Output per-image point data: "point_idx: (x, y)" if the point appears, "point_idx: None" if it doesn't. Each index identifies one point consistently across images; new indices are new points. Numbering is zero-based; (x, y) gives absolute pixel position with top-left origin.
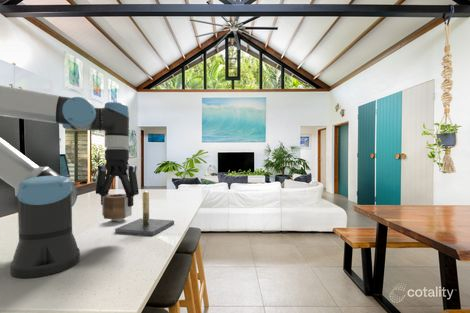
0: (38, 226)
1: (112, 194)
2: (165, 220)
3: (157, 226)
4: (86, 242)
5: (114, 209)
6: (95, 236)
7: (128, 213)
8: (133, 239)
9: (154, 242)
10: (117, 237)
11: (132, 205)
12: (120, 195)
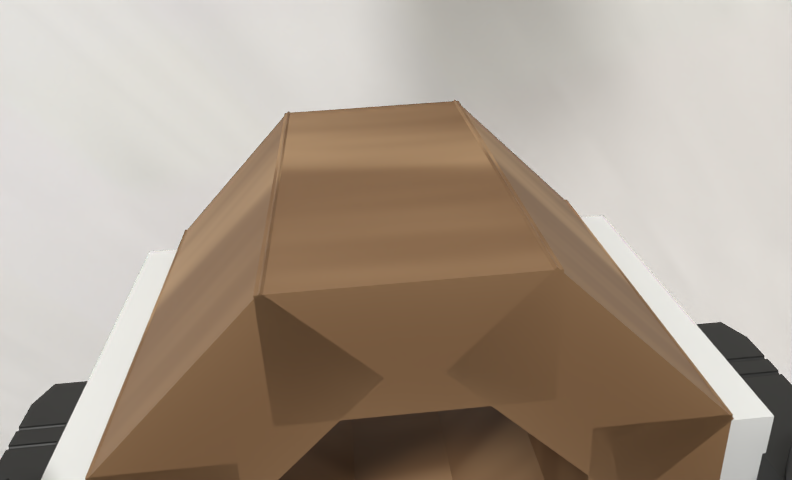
0: None
1: (135, 455)
2: None
3: None
4: (114, 284)
5: None
6: (6, 114)
7: None
8: (516, 78)
9: (783, 96)
10: (290, 71)
11: (729, 343)
12: (389, 399)
